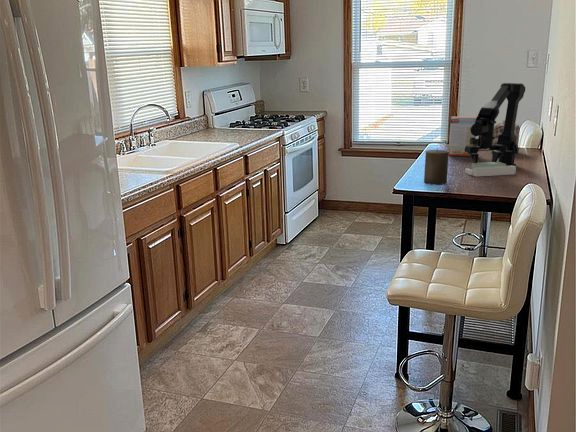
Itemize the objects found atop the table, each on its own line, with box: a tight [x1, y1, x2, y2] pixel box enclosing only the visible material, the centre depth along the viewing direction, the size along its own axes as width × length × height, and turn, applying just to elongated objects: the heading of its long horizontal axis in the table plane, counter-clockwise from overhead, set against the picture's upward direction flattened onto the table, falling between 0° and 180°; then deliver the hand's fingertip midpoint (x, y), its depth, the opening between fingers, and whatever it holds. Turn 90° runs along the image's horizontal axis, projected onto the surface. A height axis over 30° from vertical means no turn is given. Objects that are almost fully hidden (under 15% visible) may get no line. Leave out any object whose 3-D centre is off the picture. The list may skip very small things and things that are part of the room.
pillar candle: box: [423, 147, 449, 186], centre depth 246 cm, size 10×10×15 cm
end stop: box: [464, 165, 517, 178], centre depth 264 cm, size 21×9×4 cm, turn 102°
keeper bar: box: [470, 161, 506, 170], centre depth 265 cm, size 14×6×4 cm, turn 102°
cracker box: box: [448, 115, 478, 157], centre depth 307 cm, size 14×6×21 cm, turn 72°
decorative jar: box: [490, 119, 521, 154], centre depth 313 cm, size 12×12×18 cm
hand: (483, 166), depth 269 cm, fingers open, 9 cm apart
